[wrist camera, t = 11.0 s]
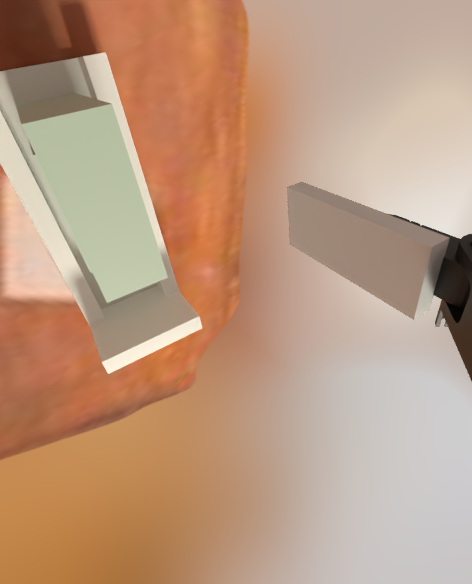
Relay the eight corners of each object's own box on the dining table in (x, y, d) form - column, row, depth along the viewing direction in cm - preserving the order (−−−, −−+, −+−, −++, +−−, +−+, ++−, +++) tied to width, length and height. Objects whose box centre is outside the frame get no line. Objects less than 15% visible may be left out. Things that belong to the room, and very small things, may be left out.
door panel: (13, 105, 23) (17, 125, 15) (76, 92, 25) (115, 103, 16) (75, 235, 29) (104, 303, 21) (123, 218, 31) (170, 276, 22)
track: (-42, 78, 22) (-60, 80, 16) (96, 54, 25) (124, 48, 19) (91, 323, 35) (108, 374, 29) (172, 288, 38) (202, 328, 32)
